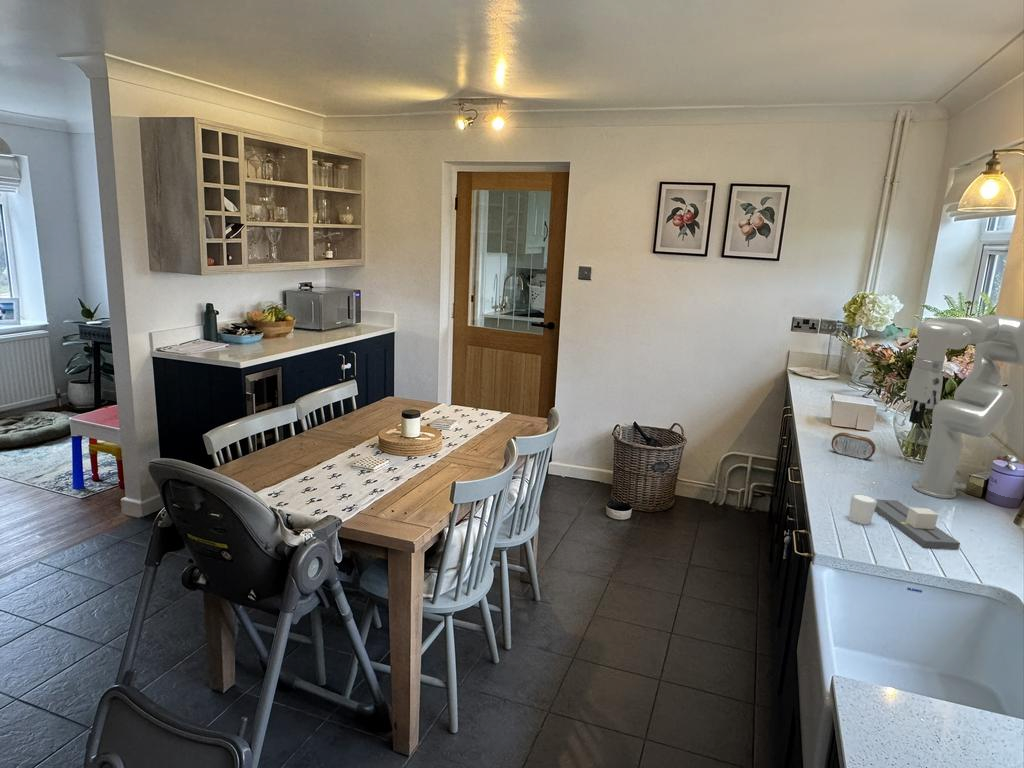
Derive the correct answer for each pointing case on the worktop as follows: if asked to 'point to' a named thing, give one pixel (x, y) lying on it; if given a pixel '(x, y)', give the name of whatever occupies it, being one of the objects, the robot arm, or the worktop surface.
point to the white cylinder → (862, 508)
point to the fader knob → (922, 518)
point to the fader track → (923, 537)
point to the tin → (853, 446)
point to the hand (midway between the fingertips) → (915, 422)
